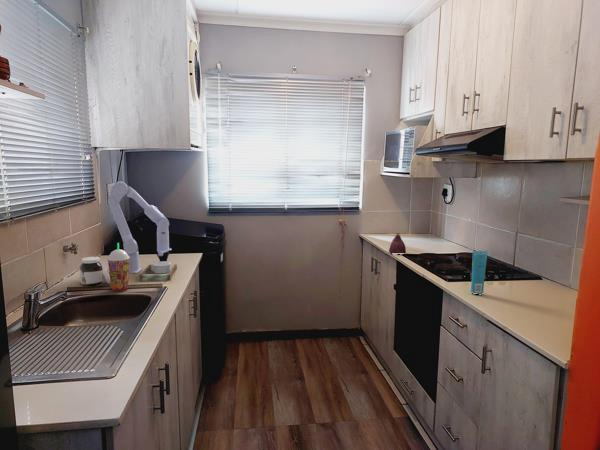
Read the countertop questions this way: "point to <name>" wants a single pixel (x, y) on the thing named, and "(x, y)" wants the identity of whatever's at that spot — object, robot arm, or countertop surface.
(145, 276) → the channel
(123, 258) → the smoothie
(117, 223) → the robot arm
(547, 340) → the countertop surface
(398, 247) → the vegetable
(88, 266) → the spread jar
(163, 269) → the ramekin
